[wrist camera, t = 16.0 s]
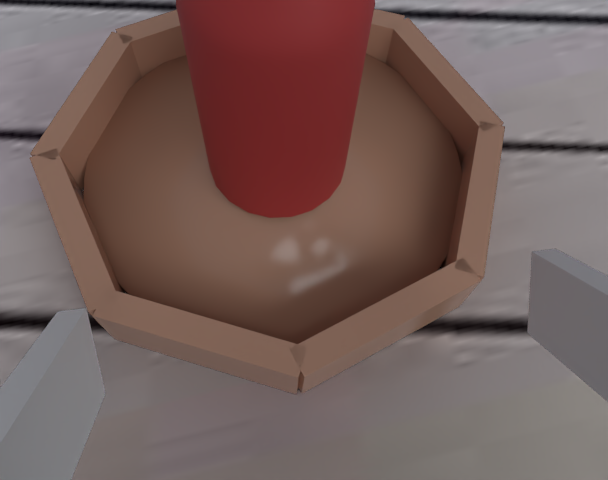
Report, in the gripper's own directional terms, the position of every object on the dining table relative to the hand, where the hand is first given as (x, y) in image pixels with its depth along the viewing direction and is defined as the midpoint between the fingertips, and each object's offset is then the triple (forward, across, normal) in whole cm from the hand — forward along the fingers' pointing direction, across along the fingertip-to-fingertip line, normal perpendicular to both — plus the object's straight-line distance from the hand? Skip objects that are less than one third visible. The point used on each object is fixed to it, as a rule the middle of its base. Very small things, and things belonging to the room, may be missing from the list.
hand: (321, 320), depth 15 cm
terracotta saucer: (+13, 0, +2) cm, 13 cm away
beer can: (+12, 0, +2) cm, 12 cm away
